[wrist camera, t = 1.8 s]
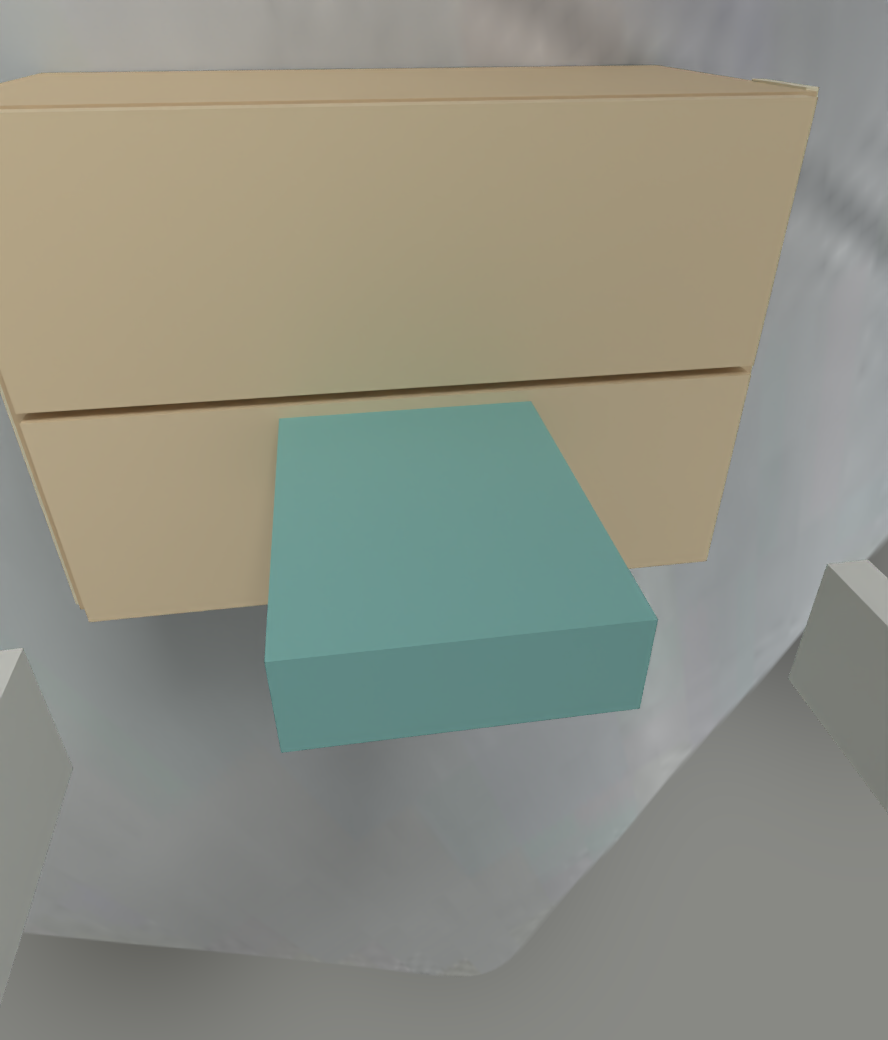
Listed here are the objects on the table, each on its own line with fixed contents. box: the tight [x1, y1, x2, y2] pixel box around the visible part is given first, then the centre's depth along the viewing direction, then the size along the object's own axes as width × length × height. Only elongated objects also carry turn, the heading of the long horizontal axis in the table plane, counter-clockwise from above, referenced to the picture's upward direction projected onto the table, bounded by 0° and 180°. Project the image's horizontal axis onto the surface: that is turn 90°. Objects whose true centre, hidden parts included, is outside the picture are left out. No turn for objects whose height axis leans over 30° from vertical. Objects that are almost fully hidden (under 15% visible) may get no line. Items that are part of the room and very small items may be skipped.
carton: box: [0, 65, 819, 609], centre depth 22 cm, size 12×18×10 cm, turn 90°
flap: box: [20, 366, 751, 753], centre depth 16 cm, size 6×17×9 cm, turn 90°
